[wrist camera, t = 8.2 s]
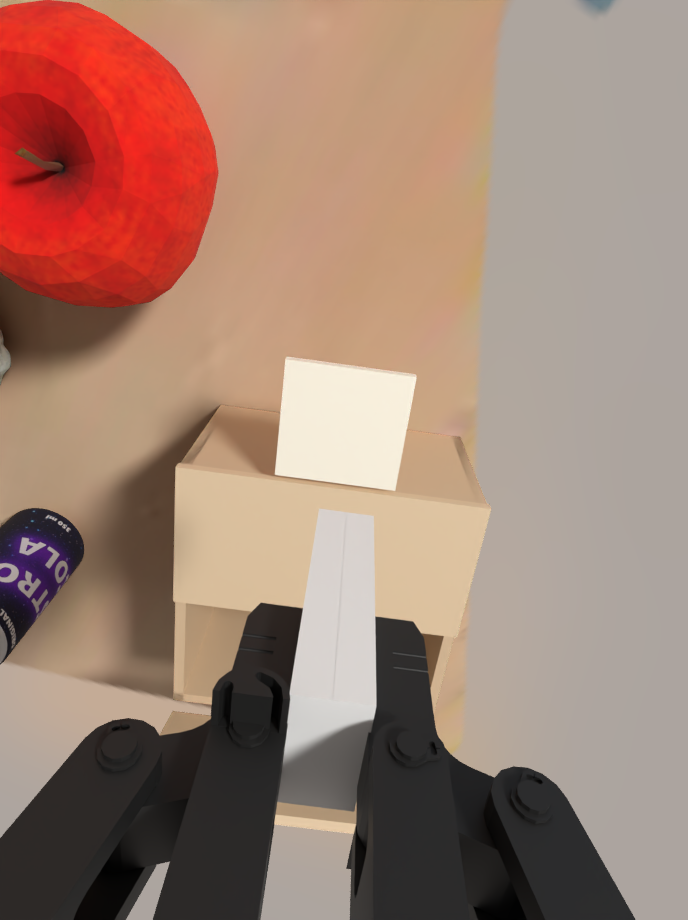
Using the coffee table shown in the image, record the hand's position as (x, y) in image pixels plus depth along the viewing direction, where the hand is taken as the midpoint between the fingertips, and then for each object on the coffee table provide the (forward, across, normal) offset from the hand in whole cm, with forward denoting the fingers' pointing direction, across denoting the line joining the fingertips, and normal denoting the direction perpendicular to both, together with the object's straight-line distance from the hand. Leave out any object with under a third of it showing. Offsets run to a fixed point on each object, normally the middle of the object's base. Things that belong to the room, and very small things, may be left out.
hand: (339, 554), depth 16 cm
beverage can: (+23, -20, -17) cm, 35 cm away
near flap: (+13, 0, -5) cm, 14 cm away
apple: (+23, -13, +8) cm, 28 cm away
